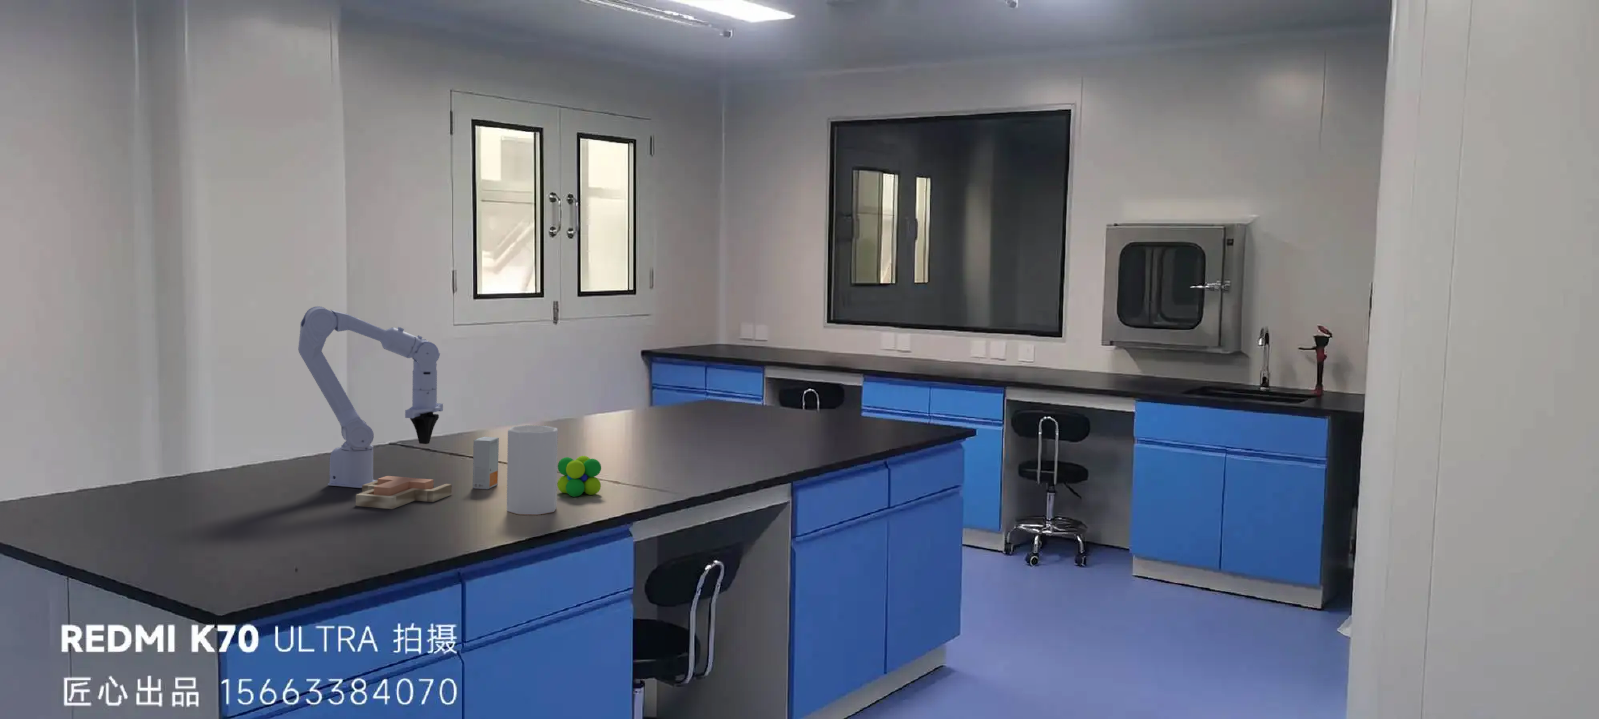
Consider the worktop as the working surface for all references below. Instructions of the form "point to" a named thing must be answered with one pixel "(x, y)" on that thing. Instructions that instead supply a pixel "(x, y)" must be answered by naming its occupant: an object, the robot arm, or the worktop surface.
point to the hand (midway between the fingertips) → (424, 443)
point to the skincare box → (485, 462)
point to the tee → (400, 485)
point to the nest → (400, 496)
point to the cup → (532, 469)
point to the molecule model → (579, 476)
